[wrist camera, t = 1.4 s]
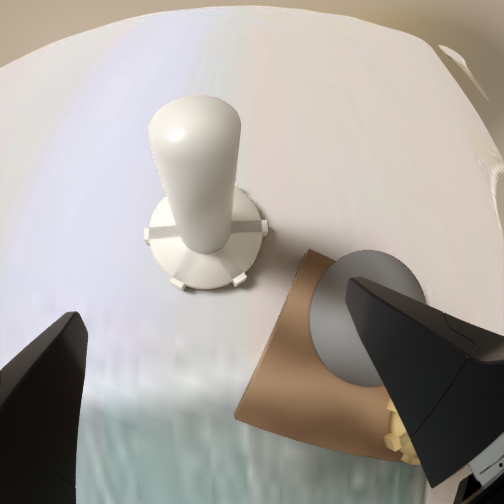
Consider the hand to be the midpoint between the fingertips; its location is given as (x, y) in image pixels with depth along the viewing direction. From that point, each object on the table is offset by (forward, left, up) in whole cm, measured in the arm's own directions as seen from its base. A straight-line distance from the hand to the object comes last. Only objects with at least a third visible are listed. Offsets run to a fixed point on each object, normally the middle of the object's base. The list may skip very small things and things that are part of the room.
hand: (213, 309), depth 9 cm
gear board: (+3, -15, -13) cm, 20 cm away
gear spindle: (+6, +4, -13) cm, 15 cm away
